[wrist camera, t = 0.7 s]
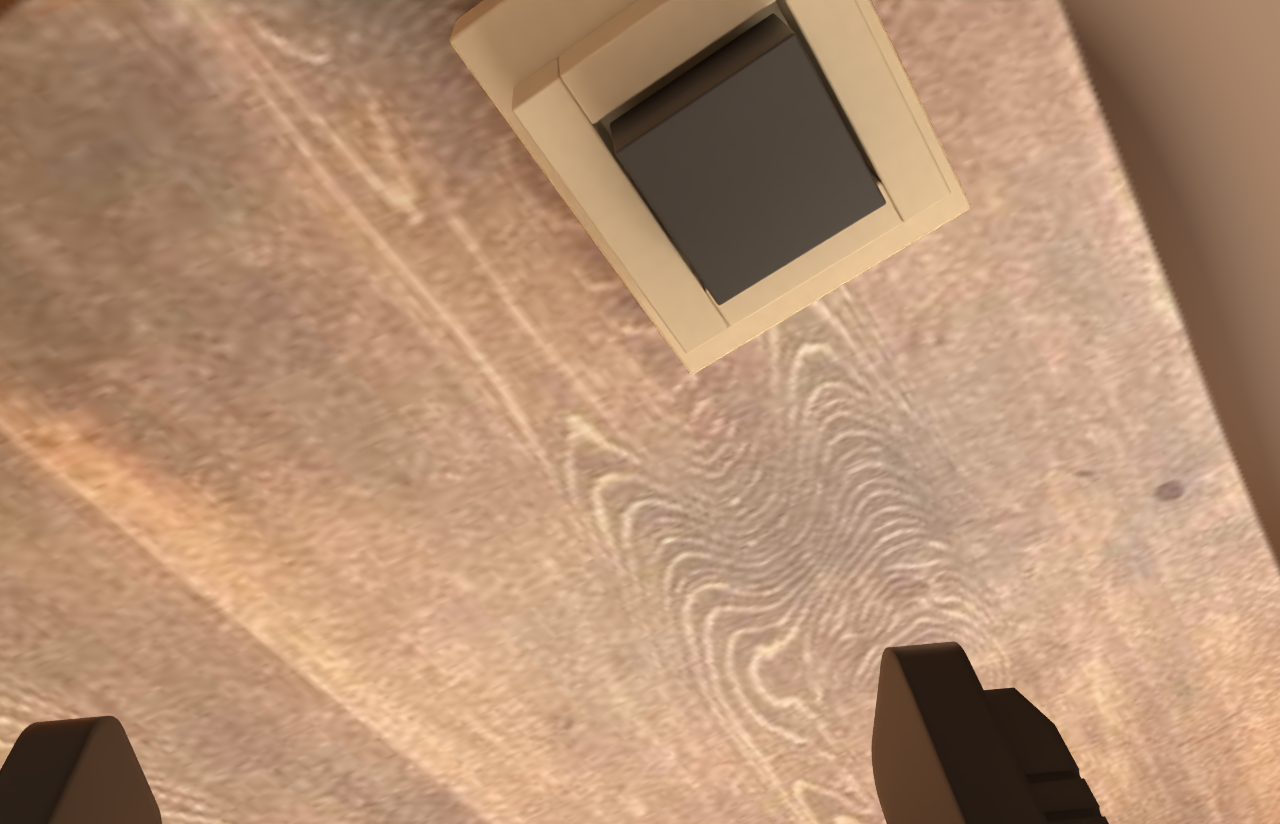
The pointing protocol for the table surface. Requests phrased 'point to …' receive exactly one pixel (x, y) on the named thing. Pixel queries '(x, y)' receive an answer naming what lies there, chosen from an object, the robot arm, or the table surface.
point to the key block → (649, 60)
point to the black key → (746, 160)
